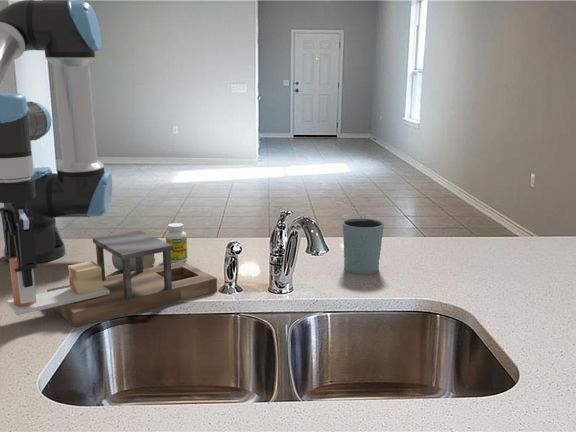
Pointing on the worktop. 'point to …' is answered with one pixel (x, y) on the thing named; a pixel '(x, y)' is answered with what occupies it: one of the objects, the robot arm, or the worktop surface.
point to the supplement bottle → (177, 242)
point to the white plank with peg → (45, 295)
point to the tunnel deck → (137, 280)
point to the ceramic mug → (133, 262)
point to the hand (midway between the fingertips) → (24, 297)
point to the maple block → (85, 278)
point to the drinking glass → (362, 245)
